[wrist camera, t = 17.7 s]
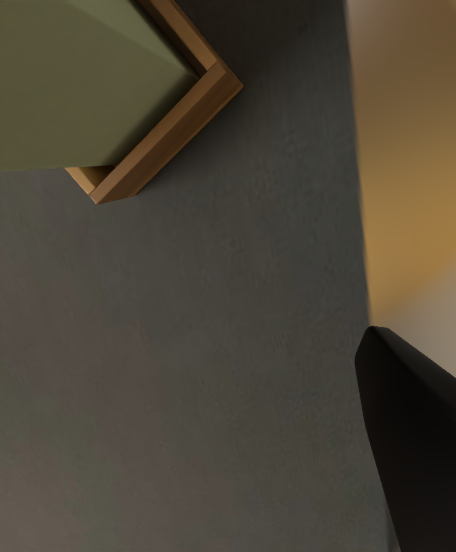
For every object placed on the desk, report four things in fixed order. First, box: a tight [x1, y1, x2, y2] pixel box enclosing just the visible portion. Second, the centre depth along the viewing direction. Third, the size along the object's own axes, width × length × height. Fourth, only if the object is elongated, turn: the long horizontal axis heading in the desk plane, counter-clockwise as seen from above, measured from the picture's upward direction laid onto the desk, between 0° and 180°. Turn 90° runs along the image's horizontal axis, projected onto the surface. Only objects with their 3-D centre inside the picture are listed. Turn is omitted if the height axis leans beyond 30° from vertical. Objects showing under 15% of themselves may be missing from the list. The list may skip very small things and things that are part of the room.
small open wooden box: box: [65, 0, 244, 204], centre depth 18 cm, size 7×7×4 cm
